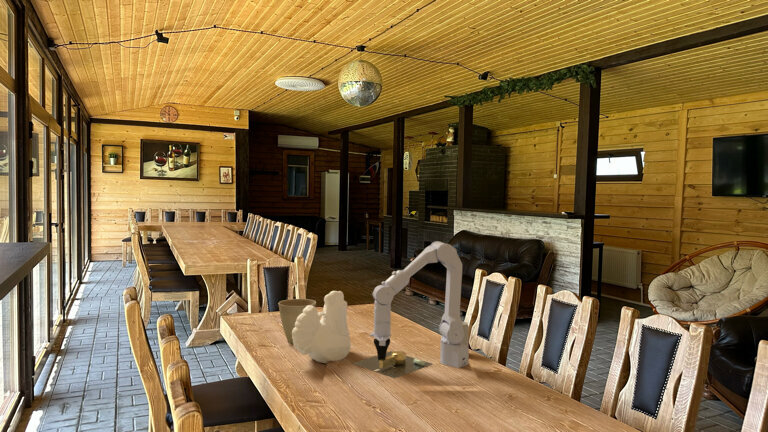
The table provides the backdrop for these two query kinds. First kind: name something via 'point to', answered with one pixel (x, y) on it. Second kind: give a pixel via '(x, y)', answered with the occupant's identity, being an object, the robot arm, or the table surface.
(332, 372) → the table surface
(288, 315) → the plant pot
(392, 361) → the brass door handle
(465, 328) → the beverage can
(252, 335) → the table surface
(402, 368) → the base plate
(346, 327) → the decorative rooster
